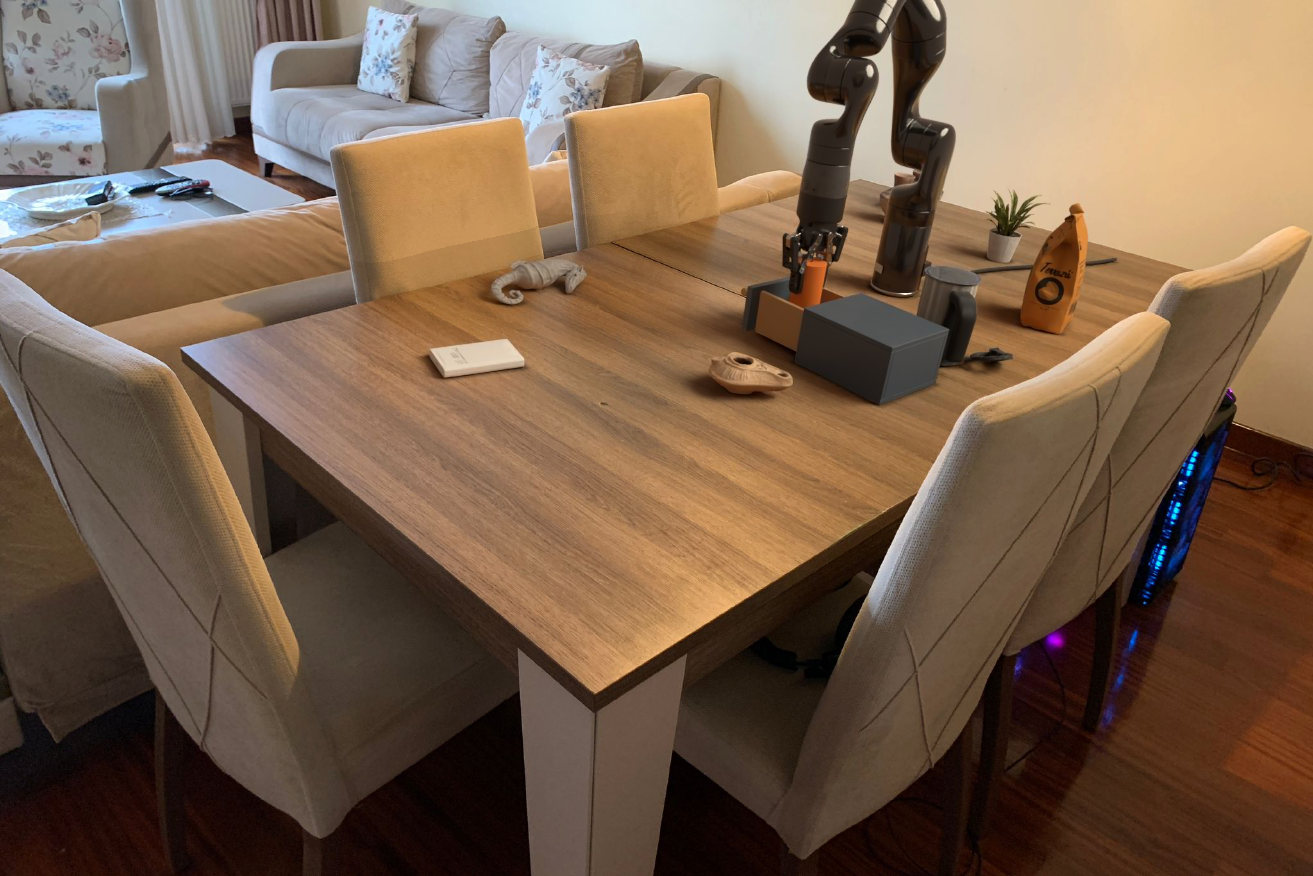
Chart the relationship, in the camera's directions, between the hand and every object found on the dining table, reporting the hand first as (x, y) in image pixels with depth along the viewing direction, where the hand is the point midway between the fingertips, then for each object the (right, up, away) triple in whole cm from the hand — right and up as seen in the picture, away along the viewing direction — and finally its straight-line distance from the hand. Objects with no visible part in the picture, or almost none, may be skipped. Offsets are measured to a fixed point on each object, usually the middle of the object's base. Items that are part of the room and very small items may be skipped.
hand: (806, 289), depth 154 cm
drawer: (-2, -7, +5) cm, 9 cm away
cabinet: (+9, -14, -5) cm, 17 cm away
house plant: (+55, +16, +57) cm, 81 cm away
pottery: (+39, +32, +82) cm, 97 cm away
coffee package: (+50, -3, +23) cm, 55 cm away
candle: (-1, -6, +3) cm, 7 cm away
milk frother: (+26, -12, +3) cm, 29 cm away
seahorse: (-47, +2, +14) cm, 49 cm away
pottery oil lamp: (-11, -18, -15) cm, 26 cm away
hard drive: (-53, -14, -14) cm, 56 cm away
